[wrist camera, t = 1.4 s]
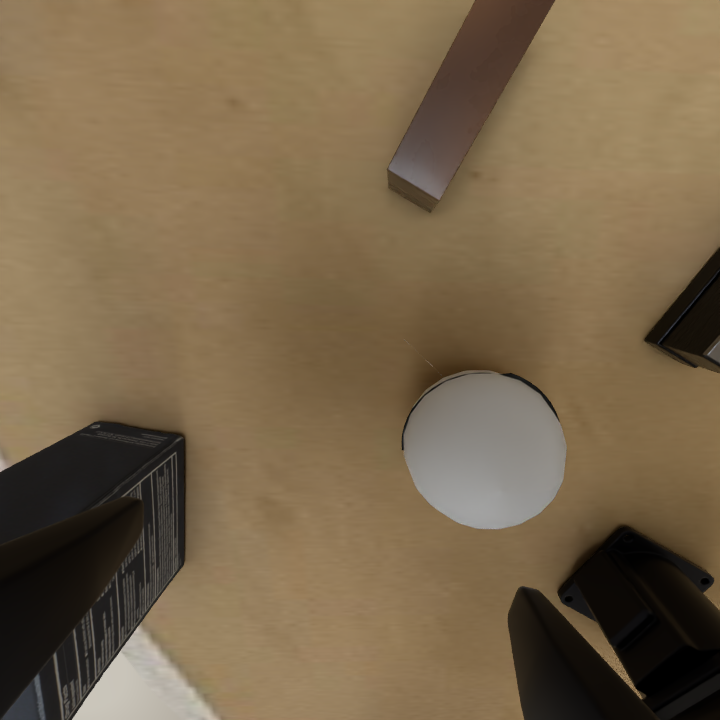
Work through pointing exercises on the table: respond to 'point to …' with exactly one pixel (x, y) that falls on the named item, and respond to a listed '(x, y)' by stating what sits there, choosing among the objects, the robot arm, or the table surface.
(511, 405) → the seamed sphere
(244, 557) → the table surface
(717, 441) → the table surface
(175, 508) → the small box
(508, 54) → the brown rectangular block
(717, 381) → the table surface
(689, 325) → the stapler
